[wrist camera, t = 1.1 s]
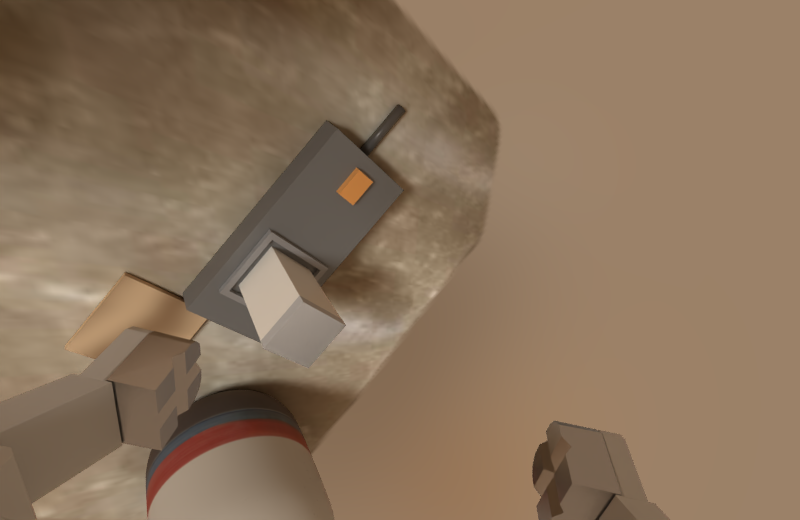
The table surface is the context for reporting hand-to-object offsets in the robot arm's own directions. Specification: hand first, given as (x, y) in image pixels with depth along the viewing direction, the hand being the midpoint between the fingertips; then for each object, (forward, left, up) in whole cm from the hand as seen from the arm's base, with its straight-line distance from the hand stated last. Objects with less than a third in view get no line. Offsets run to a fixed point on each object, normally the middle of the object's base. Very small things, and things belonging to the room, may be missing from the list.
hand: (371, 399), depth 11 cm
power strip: (+16, -2, -37) cm, 40 cm away
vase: (+26, -30, -37) cm, 54 cm away
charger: (+16, -9, -34) cm, 38 cm away
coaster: (+10, -21, -37) cm, 44 cm away
